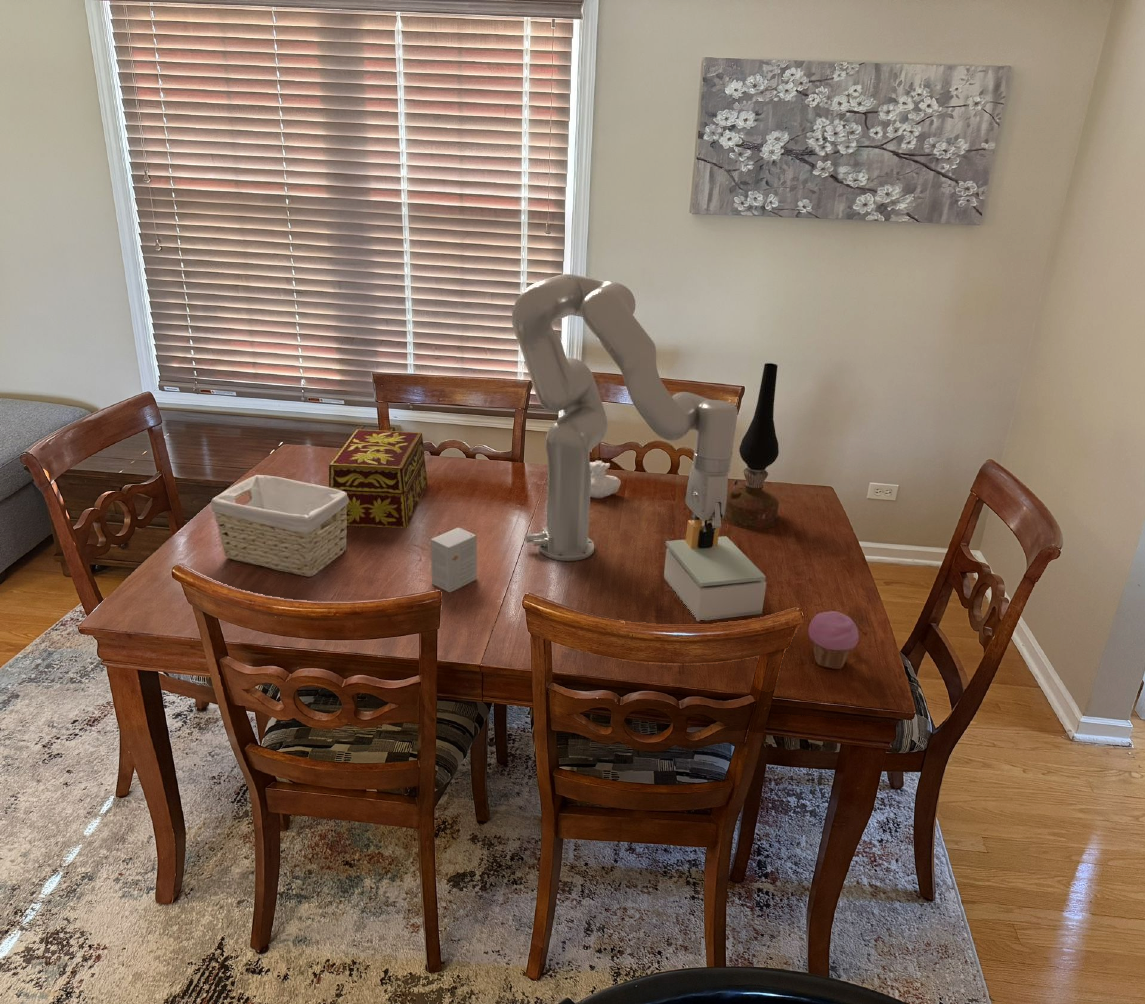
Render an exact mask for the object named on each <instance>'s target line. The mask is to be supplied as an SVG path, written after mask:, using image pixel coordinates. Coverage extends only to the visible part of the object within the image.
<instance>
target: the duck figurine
mask: <svg viewBox="0 0 1145 1004" xmlns="http://www.w3.org/2000/svg"><path fill="white" fill-rule="evenodd" d="M610 466H611V463H609V462H608V463H607V462H606V463H605V462H603V460H595V461H590V467H591V493H590V498H595V499H603V498H605V497H608V496H610V495H613V494H616V493H617V492H618V490H619V488H620V486H621V484H622V482H621V480H620V478H618V477H616V476H614V475H608V474H607V472H606V470H607V469H609V468H610Z"/></svg>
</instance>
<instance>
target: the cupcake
mask: <svg viewBox="0 0 1145 1004" xmlns="http://www.w3.org/2000/svg"><path fill="white" fill-rule="evenodd" d="M858 630H859V629H858V626H857V624H856V623H855V621H854V620H853V619H852V618H851V617H850V616H848V615H846V614H844V613H842V612H839V611H835V610H829V611H824V612H820V613H817V614H816V615H815V616H814V617H813V618H812V619H811V621H810V624H809V626H808V629H807V631H808V636H809V638H810V639H811V641H813V655H814V660H815V662H816V663H817V665H819V666H821V667H824V668H830V669H835V670H840V669H842V668H843V667H844V666H845V663H846V660H847V657H848V656H849V653H850V651H851V650H852V649H854V648H855V647H856V646H857V644H858V642H859V640H860V635H859V631H858Z"/></svg>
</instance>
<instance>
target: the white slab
mask: <svg viewBox="0 0 1145 1004" xmlns="http://www.w3.org/2000/svg"><path fill="white" fill-rule="evenodd" d="M686 523H687V524H686V525H687V526H686V533H685V539H676V540H675V539H674V540H666V541H665V546H666V547H667V548H669V549H670V551H671V552H672V553H673V554H674V556H675V557H676V558H677V559H678V560H679V562H680V563H681V564H682V565H683V567H684V568H685V569H686V570H687V571H688V573H689V574H690V575H691V576H692V578H693V579H694V580H695V581H696V582H697V584H698V585H699V586H700V587H702V586H712V585H722V584H732V583H742V582H753V581H763V580H764V581H766V578H767V577H766V575H765V574H764V573H763V572H762V571H761V570H760V569H759V568H758V567H757V566H756V565H755V564H754V563H753V562H752V561H751V560H750V558H749V557H747V556H746V554H745V553H743V552H742V550H741V549H739V547H738V546H737V545H735V543H734V542H733V541H732V540H731V539H729V537H727V536H726V535H724V536H719V535H720V530H721V528H716V531H715V532H714V539H713V546H712V547H710V548H699V547H698V538H699V531H700V530H702V520H701V519H700V520H692V519H690V520H687V522H686ZM708 523H712V521H707V524H708Z"/></svg>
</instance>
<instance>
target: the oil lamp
mask: <svg viewBox="0 0 1145 1004" xmlns="http://www.w3.org/2000/svg"><path fill="white" fill-rule="evenodd" d="M777 374H778V364H776V363H771V362H769V363H764V365H763V371H762V376H761V381H760V386H759V392H758V398H757V403H756V406H755V411H754V415H753V418H752V420H751V422H750V424H749V426H748V429H747V431H746V432H745V435H744V436H743V437H742V439H741V442H740V445H739V455H740V459H741V460H742V461H743V462H744V463H745V464H746V466H747V467H746V468H744V469H743V471H742V472H743V476H744V479H745V482H744V484H743V483H740V482H739V481H738V479H735V480H734V481H733V485H734V486H737V485H741V486H743V487H740V488H736V489H733V490H730V491H727V501H726V509H725V514H724V517H723V519H724V520H725V521H726V522H728V523H729V524H732V525H734V526H736V527H739V528H744V529H750V530H751V529H752V530H763V529H769V528H772V527H774V526H775V525H776V524H777V522H778V511H779V504H780V503H779V500H778V499H777V497H776V496H775V495H773V494H772V493H770V492H768V491H766V490H764V483H765V480H766V479H767V478H768V476H769V472H768V471H767V470H766V469H767V468H768V467H770V466H771V465H772V464H774V463H775V462H776V460H777V459H778V456H779V452H780V451H779V450H780V449H779V441H778V438H777V434H776V427H775V420H774V411H775V395H776V386H777V385H776V384H777Z"/></svg>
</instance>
